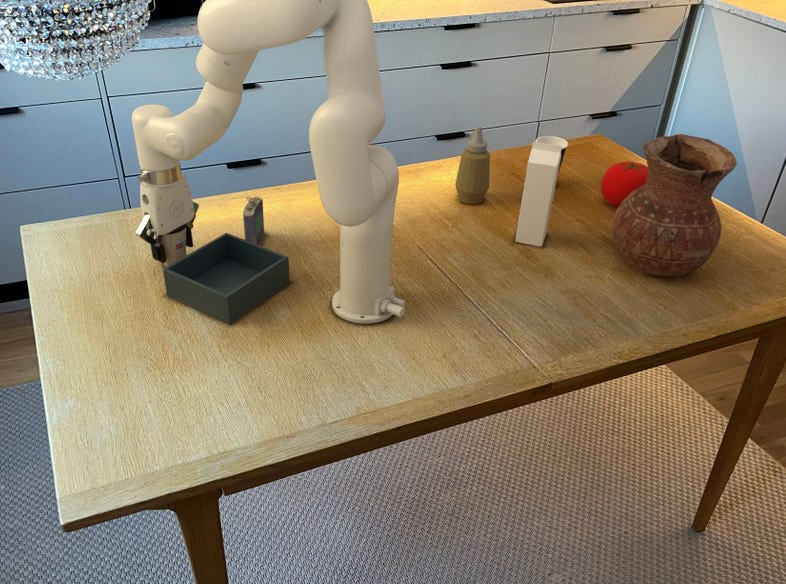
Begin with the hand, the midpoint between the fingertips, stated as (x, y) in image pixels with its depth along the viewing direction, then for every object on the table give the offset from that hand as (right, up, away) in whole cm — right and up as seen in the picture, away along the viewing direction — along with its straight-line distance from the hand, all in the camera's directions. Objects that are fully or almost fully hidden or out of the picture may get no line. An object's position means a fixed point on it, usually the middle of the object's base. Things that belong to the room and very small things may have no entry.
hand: (173, 252), depth 157 cm
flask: (+16, +3, +9) cm, 18 cm away
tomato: (+102, +15, +28) cm, 107 cm away
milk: (+77, +5, +13) cm, 78 cm away
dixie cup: (+85, +22, +35) cm, 95 cm away
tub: (+13, -8, -6) cm, 16 cm away
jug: (+102, -1, +7) cm, 102 cm away
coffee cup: (0, -2, +2) cm, 3 cm away
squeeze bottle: (+65, +17, +28) cm, 73 cm away
